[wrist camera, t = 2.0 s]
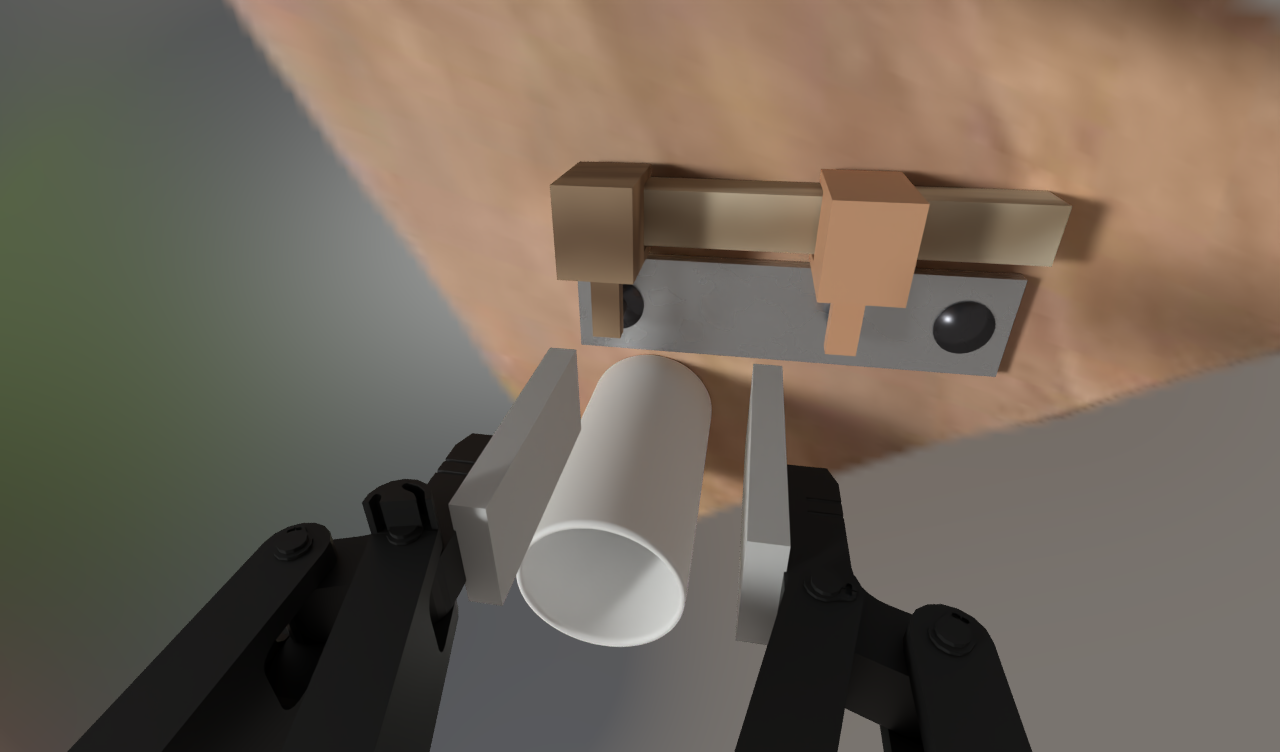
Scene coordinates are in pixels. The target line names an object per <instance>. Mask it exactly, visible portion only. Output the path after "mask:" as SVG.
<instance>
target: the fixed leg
mask: <svg viewBox="0 0 1280 752" xmlns="http://www.w3.org/2000/svg"><path fill="white" fill-rule="evenodd" d="M650 176H651V164H643V163H612V162H579V163H577V164H576V165H575V166H574V167H572V168H571V169H570V170H569V171H567V172H566V173H565V174H563V175H562V176H561V177H560V178H558V179H557V180H556V181H554V182H553V183H552V184H551V185H550V193H551V206H552V219H553V232H554V245H555V258H556V271H557V280H568V281H584V282H590V285H591V306H592V327H593V336H594V337H608V338H621V335H622V333H623V331H624V328H623V316H624V314H625V312H626V310H627V303H626V301H625V300H624V299H623V284H634V282H635V280H636V278H637V276H638V274H639V272H640V270H641V268H642V266H643V264H644V262H645V260H646V258H647V256H648V254H649V252H650V250H651V246H646V245H644V184H645V183H646V182H647V180H648V179H649V177H650Z"/></svg>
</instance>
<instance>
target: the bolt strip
mask: <svg viewBox="0 0 1280 752" xmlns="http://www.w3.org/2000/svg"><path fill="white" fill-rule="evenodd" d="M1027 281H1028V280H1027V279H1026V278H1025V277H1024V276H1023V275H1022V274H1016V273H998V272H979V271H961V270H943V269H924V268H915V270H914V275H913V279H912V283H911V288H910V292H909V296H908V301H907V305H906V308H897V307H881V306H865V311H864V316H863V321H862V326H861V331H860V336H859V342H858V347H857V352H856V356H844V355H831V354H825V350H824V341H825V335H826V328H827V326H826V320H827V318H828V316H829V310H830V304H831V303H818V302H817V300H816V294H815V288H814V283H813V277H812V271H811V266H810V262H795V261H776V260H758V259H739V258H721V257H702V256H684V255H666V254H648V256H647V258H646V260H645V262H644V264H643V266H642V268H641V270H640V272H639V274H638V276H637V278H636V280H635V282H634V284H623V299H624V300H625V301H626V303H627V310H626V312H625V314H624V316H623V328H624V331H623V333H622V335H621V338H608V337H594V336H593V327H592V306H591V285H590V282H584V281H578V292H579V309H580V326H581V343H582V345H595V346H608V347H621V348H634V349H646V350H659V351H672V352H685V353H697V354H710V355H723V356H736V357H749V358H761V359H774V360H787V361H800V362H812V363H825V364H838V365H851V366H863V367H876V368H889V369H902V370H915V371H927V372H940V373H953V374H966V375H978V376H991V377H996V374H997V371H998V368H999V365H1000V362H1001V359H1002V356H1003V353H1004V350H1005V347H1006V344H1007V341H1008V338H1009V335H1010V332H1011V329H1012V326H1013V323H1014V320H1015V317H1016V314H1017V311H1018V308H1019V305H1020V302H1021V299H1022V296H1023V293H1024V290H1025V287H1026V284H1027Z"/></svg>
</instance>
